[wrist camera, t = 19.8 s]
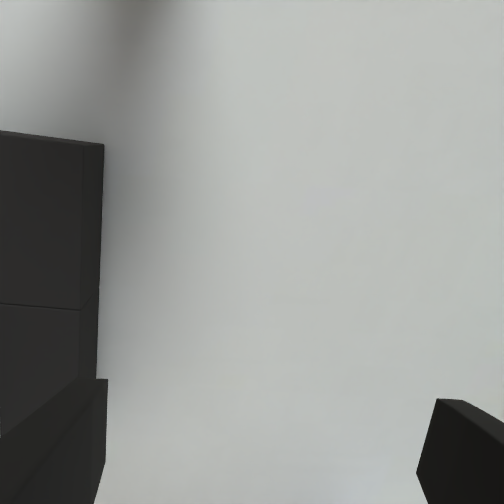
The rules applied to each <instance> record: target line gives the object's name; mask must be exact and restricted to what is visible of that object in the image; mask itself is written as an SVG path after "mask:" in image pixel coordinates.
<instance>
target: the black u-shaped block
mask: <svg viewBox="0 0 504 504" xmlns="http://www.w3.org/2000/svg"><path fill="white" fill-rule="evenodd" d="M103 167H104V145H103V144H99V143H91V142H84V141H76V140H69V139H61V138H54V137H46V136H39V135H31V134H24V133H16V132H9V131H1V130H0V437H1V436H3V435H4V434H5V433H7V432H8V431H9V430H11V429H12V428H13V427H15V426H16V425H17V424H18V423H20V422H21V421H22V420H24V419H25V418H26V417H28V416H29V415H30V414H31V413H33V412H34V411H35V410H36V409H38V408H39V407H40V406H41V405H43V404H44V403H45V402H46V401H48V400H49V399H50V398H52V397H53V396H54V395H55V394H57V393H58V392H59V391H60V390H62V389H63V388H64V387H66V386H67V385H68V384H69V383H71V382H72V381H73V380H75V379H76V378H77V377H78V378H95V379H96V363H97V335H98V306H99V288H98V287H99V281H100V252H101V224H102V196H103Z"/></svg>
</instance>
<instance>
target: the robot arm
mask: <svg viewBox="0 0 504 504" xmlns="http://www.w3.org/2000/svg"><path fill="white" fill-rule="evenodd" d="M107 393H108V379H95V378H78V377H77V378H76V379H75V380H73V381H72V382H71V383H69V384H68V385H67V386H66V387H64V388H63V389H62V390H60V391H59V392H58V393H57V394H55V395H54V396H53V397H52V398H50V399H49V400H48V401H46V402H45V403H44V404H43V405H41V406H40V407H39V408H38V409H36V410H35V411H34V412H33V413H31V414H30V415H29V416H28V417H26V418H25V419H24V420H22V421H21V422H20V423H18V424H17V425H16V426H15V427H13V428H12V429H11V430H9V431H8V432H7V433H5V434H4V435H3V436H1V437H0V504H94V501H95V497H96V494H97V490H98V487H99V483H100V479H101V476H102V472H103V468H104V465H105V458H106V426H107ZM416 474H417V477H418V479H419V482H420V484H421V487H422V490H423V492H424V495H425V497H426V500H427V502H428V504H504V423H503V422H501V421H500V420H498V419H496V418H495V417H493V416H491V415H490V414H488V413H486V412H484V411H483V410H481V409H479V408H477V407H475V406H473V405H471V404H469V403H467V402H465V401H463V400H454V399H437V400H436V403H435V407H434V410H433V414H432V418H431V421H430V425H429V428H428V432H427V435H426V439H425V443H424V446H423V450H422V453H421V457H420V461H419V464H418V468H417V471H416Z"/></svg>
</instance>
